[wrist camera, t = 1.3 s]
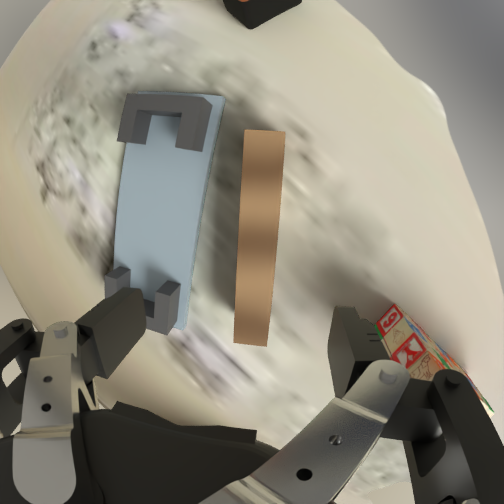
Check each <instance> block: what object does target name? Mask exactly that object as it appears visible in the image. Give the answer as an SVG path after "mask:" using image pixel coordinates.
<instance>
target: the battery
mask: <svg viewBox="0 0 504 504" xmlns="http://www.w3.org/2000/svg"><path fill="white" fill-rule="evenodd" d="M223 2H224V4H225V7H226V9H227V11H229V12H230V13H231V14H232V15H233V16H235V17H236V18H237V19H238V20H239V21H240V22H241V23H243V24H244V25H245V26H246V27H247V28H248V29H254V28H256V27H257V26H259V25H261V24H263V23H264V22H266V21H268V20H270V19H272V18H273V17H275V16H277V15H279V14H281V13H283V12H285V11H287V10H289V9H291V8H293V7H295V6H297V5H299V4H300V3H301V2H302V0H223Z"/></svg>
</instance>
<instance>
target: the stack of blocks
mask: <svg viewBox="0 0 504 504" xmlns="http://www.w3.org/2000/svg"><path fill="white" fill-rule="evenodd" d="M374 327H375V329H376V331H377V333H378V335H379V337H380V339H381V341H382V343H383V345H384V347H385V349H386V351H387V353H388V355H389V357H390V359H391V360H392V361H395V362H398V363H400V364H402V365H403V366H404V367H405V368H406V369H407V370H408V371H409V374H410V378H414V379H420V380H427V381H432V379H433V377H434V375H435V373H436V372H437V371H439V370H442V369H452V370H456V371H458V372H460V373H462V374H463V375H465V376H466V377H467V379H468V380H469V382H470V384H471V385H472V387H473V389H474V390H475V392H476V394H477V395H478V397H479V399H480V401H481V403H482V404H483V406H484V408H485V410H486V412H487V414H488V415H489V417H491V416H492V415H493V414H494V411H493V410H492V408H491V407H490V405H489V404H488V402H487V401H486V399H485V398H484V397H483V396H482V394H481V393H480V392H479V390H478V389H477V387H476V386H475V385H474V384H473V382H472V381H471V379H470V378H469V377H468V375H467V374H466V373H465V372H464V371H463V370H462V369H461V368H460V366H459V365H458V364H457V363H456V362H455V361H454V360H453V359H452V358H451V357H450V356H449V355H448V354H447V353H446V352H444V351H443V350H442V349H441V348H440V347H439V346H438V345H437V344H436V343H435V342H434V341H433V340H432V339H431V338H430V337H429V336H428V335H426V334H425V333H424V331H423V330H422V329H421V328H420V327H419V326H418V325H417V324H416V323H415V322H414V321H413V320H412V319H411V318H410V317H409V316H408V315H407V314H406V313H405V312H404V311H403V310H402V309H400V308H399V307H398V306H397V305H396V304H394V305H393V306H392V307H391V308H390V309H389V310H388V311H387V312H386V313H385V314H384V315H383V317H382V318H381V319H380V320H379V321H378V322H377V323H376V324H375V325H374ZM443 436H444V435H443Z"/></svg>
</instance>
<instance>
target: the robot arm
mask: <svg viewBox="0 0 504 504" xmlns="http://www.w3.org/2000/svg"><path fill="white" fill-rule="evenodd" d="M146 324H147V321H146V314H145V307H144V300H143V293H142V291H141V289H139V288H133V287H125V286H124V287H122V288H121V289H120V290H119V291H117V292H116V293H115V294H113V295H112V296H111V297H108V298H106V299H104V300H102V301H101V302H100V303H99V304H97V306H95V307H93V308H92V309H91V311H88V312H87V313H86V314H85V315H83V316H82V317H81V318H80V319H78V320H77V321H76V322H75V323H72V322H68V321H63V322H57V323H54V324H52V325H51V326H49V327H48V328H47V329H46V330H45V332H35V331H34V328H33V325H32V322H31V321H30V320H29V319H18V320H14V321H12V322H11V323H9V324H7V325H6V326H5V327H4V328H2V329H1V330H0V504H336V503H335V502H334V500H335V499H336V498H337V497H338V495H339V494H340V493H341V492H342V491H343V489H344V488H345V487H346V485H347V484H348V483H349V481H350V480H351V479H352V477H353V476H354V475H355V473H356V472H357V471H358V469H359V468H360V466H361V465H362V464H363V462H364V461H365V459H366V458H367V456H368V455H369V454H370V452H371V451H372V449H373V448H374V446H375V444H376V443H377V441H378V440H379V438H380V437H382V438H389V439H396V440H402V441H403V445H404V449H405V453H406V458H407V463H408V467H409V472H410V477H411V483H412V488H413V494H414V500H415V504H504V446H503V444H502V442H501V439H500V437H499V435H498V433H497V431H496V429H495V427H494V425H493V423H492V421H491V419H490V417H489V415H488V414H487V412H486V410H485V408H484V406H483V404H482V403H481V401H480V399H479V397H478V395H477V394H476V392H475V390H474V389H473V387H472V385H471V384H470V382H469V380H468V379H467V377H466V376H465V375H463V374H462V373H460V372H458V371H456V370H452V369H442V370H439V371H437V372H436V373H435V375H434V377H433V379H432V381H427V380H420V379H414V378H410V374H409V371H408V370H407V369H406V368H405V367H404V366H403V365H402V364H400V363H398V362H395V361H392V360H391V359H390V357H389V355H388V353H387V351H386V349H385V347H384V345H383V343H382V341H381V339H380V337H379V335H378V333H377V331H376V329H375V327H374V325H372V324H371V323H370V322H369V321H368V320H366V319H360V318H359V316H358V314H357V312H356V309H355V307H346V306H336V307H335V309H334V313H333V318H332V324H331V329H330V334H329V339H328V358H329V364H330V369H331V374H332V380H333V386H334V392H335V398H334V399H332V400H331V401H330V403H329V404H328V405H327V406H326V407H325V408H324V409H323V410H322V411H321V412H320V413H319V414H318V415H317V416H316V417H315V418H314V419H313V420H312V421H311V422H310V423H309V424H308V425H307V426H306V427H305V428H304V429H303V430H302V431H301V432H300V433H299V434H298V435H296V436H295V437H294V438H293V439H292V440H291V441H290V442H289V443H288V444H287V445H285V446H284V447H283V448H282V449H281V450H278V449H276V448H274V447H272V446H270V445H268V444H265V443H263V442H260V441H257V440H256V434H257V430H250V429H241V428H233V427H226V426H219V425H218V426H180V425H176V424H174V423H172V422H170V421H167V420H165V419H163V418H161V417H159V416H157V415H155V414H154V413H152V412H150V411H148V410H145V409H141V408H138V407H134V406H131V405H128V404H125V403H122V402H119V401H117V402H116V404H115V405H114V407H113V408H112V410H110V409H99V404H98V397H97V391H96V384H95V381H94V377H95V376H96V375H97V376H100V377H103V378H106V379H108V378H109V376H110V375H111V374H112V373H113V371H114V370H115V369H116V368H117V366H118V365H119V364H120V363H121V361H122V360H123V359H124V358H125V356H126V355H127V354H128V353H129V352H130V350H131V349H132V348H133V347H134V345H135V344H136V343H137V342H138V340H139V339H140V338H141V337H142V336H143V334H144V333H145V330H146ZM14 358H16V361H17V363H18V365H19V367H20V370H21V372H22V373H21V374H20V375H19V376H18V377H17V378H16V379H15V380H14V381H13V382H12V383H11V384H10V385H9V386H8V387H6V386H5V384H4V382H3V380H2V371H3V368H4V367H5V366H6V365H7V364H9V362H11V361H12V360H13V359H14ZM20 422H21V429H20V431H19V432H17V433H16V434H15V435H11V433H13V431H14V430H15V429H16V427H17V426H18V425H19V423H20ZM10 435H11V436H10ZM443 435H444V436H443Z"/></svg>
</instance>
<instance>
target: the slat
mask: <svg viewBox="0 0 504 504" xmlns="http://www.w3.org/2000/svg"><path fill="white" fill-rule="evenodd" d="M284 148H285V132H281V131H266V130H245V131H244V146H243V162H242V178H241V195H240V213H239V231H238V251H237V272H236V293H235V317H234V343H239V344H248V345H257V346H266V347H267V339H268V331H269V323H270V313H271V304H272V294H273V284H274V273H275V262H276V251H277V240H278V228H279V216H280V204H281V191H282V177H283V163H284Z"/></svg>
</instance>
